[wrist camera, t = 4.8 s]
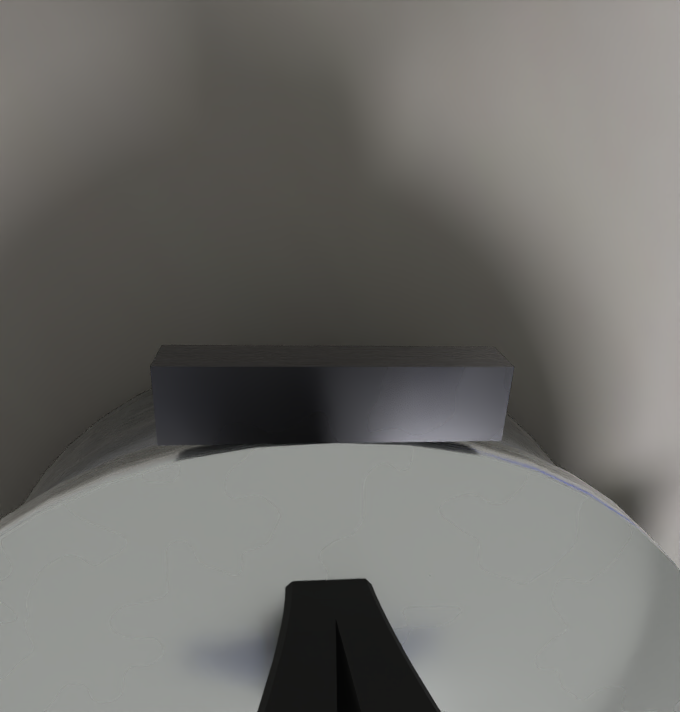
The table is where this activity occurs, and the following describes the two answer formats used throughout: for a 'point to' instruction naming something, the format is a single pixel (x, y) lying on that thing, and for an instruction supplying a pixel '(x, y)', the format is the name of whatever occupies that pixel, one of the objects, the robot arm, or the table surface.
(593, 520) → the lid
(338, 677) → the robot arm
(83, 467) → the cooker pot
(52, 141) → the table surface
